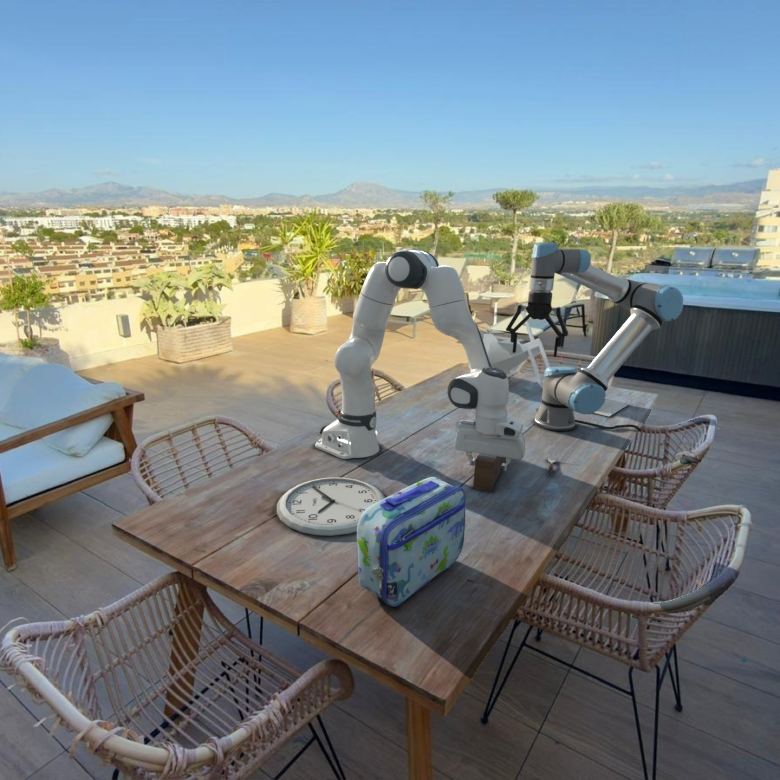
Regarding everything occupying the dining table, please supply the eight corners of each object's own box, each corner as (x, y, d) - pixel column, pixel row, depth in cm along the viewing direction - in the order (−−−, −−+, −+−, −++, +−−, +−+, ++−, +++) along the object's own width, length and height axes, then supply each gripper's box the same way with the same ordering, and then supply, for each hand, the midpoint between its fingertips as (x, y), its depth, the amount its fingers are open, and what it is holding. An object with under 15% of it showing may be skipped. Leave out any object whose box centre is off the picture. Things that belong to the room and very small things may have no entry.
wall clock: (392, 527, 129) (268, 531, 127) (391, 533, 130) (269, 537, 127) (383, 473, 158) (282, 475, 155) (383, 478, 158) (282, 480, 156)
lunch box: (386, 620, 101) (388, 525, 95) (350, 593, 108) (349, 503, 102) (468, 563, 119) (474, 480, 112) (432, 543, 126) (436, 464, 120)
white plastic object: (490, 419, 266) (470, 396, 241) (471, 346, 288) (451, 319, 263) (561, 395, 253) (548, 368, 229) (535, 321, 276) (521, 290, 251)
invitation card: (608, 416, 214) (573, 407, 224) (608, 416, 214) (573, 408, 224) (628, 404, 229) (594, 396, 238) (628, 405, 229) (594, 397, 238)
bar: (491, 452, 178) (493, 427, 176) (507, 455, 177) (509, 429, 174) (473, 488, 154) (475, 459, 151) (491, 491, 152) (493, 463, 149)
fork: (545, 476, 161) (545, 470, 161) (548, 456, 176) (549, 450, 175) (553, 477, 160) (554, 471, 160) (556, 457, 175) (557, 452, 174)
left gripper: (453, 422, 152) (451, 466, 156) (524, 432, 145) (520, 477, 149) (458, 415, 158) (456, 457, 162) (527, 424, 150) (523, 468, 154)
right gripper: (500, 290, 173) (495, 352, 180) (580, 294, 164) (572, 360, 171) (504, 287, 180) (499, 348, 186) (581, 292, 171) (573, 355, 177)
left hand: (488, 467), depth 155 cm, fingers open, 8 cm apart
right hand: (534, 354), depth 178 cm, fingers open, 13 cm apart
